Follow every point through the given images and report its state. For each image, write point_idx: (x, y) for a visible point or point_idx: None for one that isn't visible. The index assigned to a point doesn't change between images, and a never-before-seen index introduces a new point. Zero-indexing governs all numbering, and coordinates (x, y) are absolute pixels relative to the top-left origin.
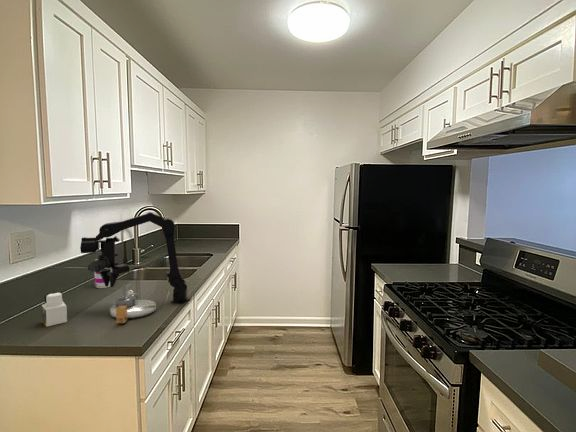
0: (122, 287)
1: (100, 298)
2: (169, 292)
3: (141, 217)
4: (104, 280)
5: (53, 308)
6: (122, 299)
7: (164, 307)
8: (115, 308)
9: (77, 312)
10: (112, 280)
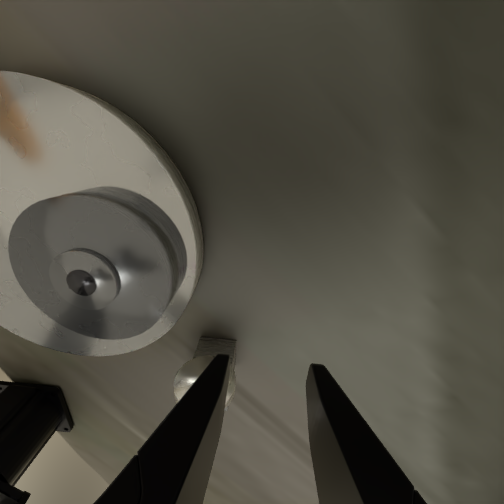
0: (439, 493)
1: (458, 368)
2: None
3: None
4: (354, 458)
5: None
6: (80, 246)
7: None
8: (118, 169)
9: (454, 113)
10: (140, 463)
